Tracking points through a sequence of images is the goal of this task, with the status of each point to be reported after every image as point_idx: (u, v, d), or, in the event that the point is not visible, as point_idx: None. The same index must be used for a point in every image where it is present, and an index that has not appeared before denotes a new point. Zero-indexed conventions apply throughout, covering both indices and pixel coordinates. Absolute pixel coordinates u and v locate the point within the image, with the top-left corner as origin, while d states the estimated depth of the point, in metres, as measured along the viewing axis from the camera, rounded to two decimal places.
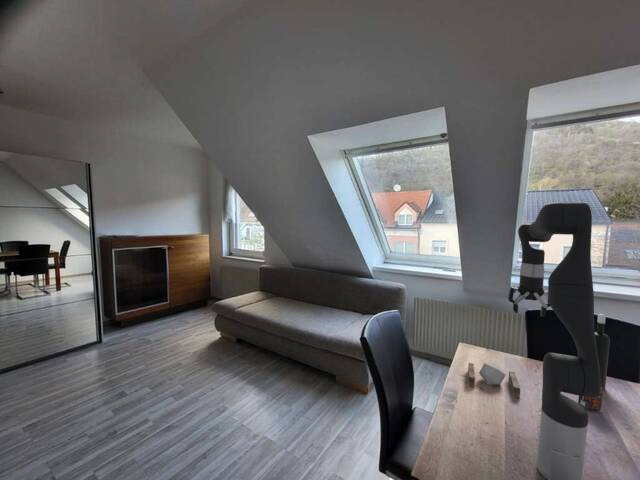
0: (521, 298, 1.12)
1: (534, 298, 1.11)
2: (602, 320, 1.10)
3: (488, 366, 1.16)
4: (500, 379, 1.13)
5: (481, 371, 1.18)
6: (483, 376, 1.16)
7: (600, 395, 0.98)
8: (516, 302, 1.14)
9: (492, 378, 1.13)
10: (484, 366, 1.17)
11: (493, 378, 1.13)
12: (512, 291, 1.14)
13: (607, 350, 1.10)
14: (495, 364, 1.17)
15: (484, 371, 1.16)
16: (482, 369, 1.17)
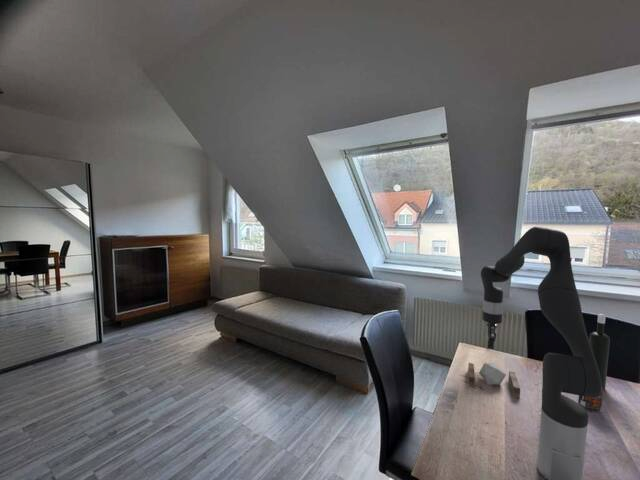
0: None
1: None
2: (602, 320, 1.10)
3: (488, 366, 1.16)
4: (500, 379, 1.13)
5: (481, 371, 1.18)
6: (483, 376, 1.16)
7: (600, 395, 0.98)
8: None
9: (492, 378, 1.13)
10: (484, 366, 1.17)
11: (493, 378, 1.13)
12: (495, 335, 1.21)
13: (607, 350, 1.10)
14: (495, 364, 1.17)
15: (484, 371, 1.16)
16: (482, 369, 1.17)
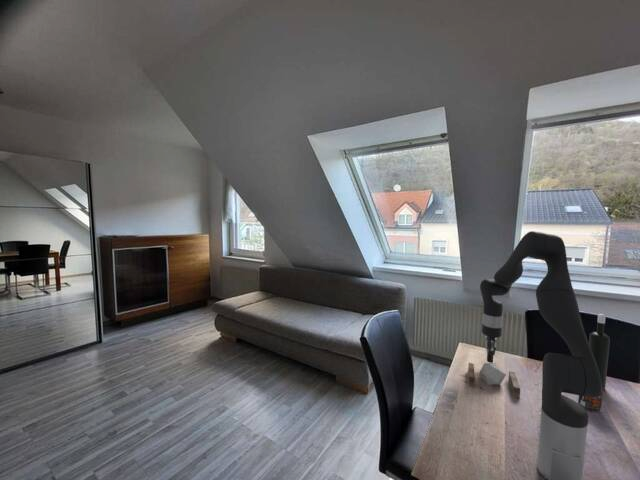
0: None
1: None
2: (602, 320, 1.10)
3: (488, 366, 1.16)
4: (500, 379, 1.13)
5: (481, 371, 1.18)
6: (483, 376, 1.16)
7: (600, 395, 0.98)
8: None
9: (492, 378, 1.13)
10: (484, 366, 1.17)
11: (493, 378, 1.13)
12: None
13: (607, 350, 1.10)
14: (495, 364, 1.17)
15: (484, 371, 1.16)
16: (482, 369, 1.17)
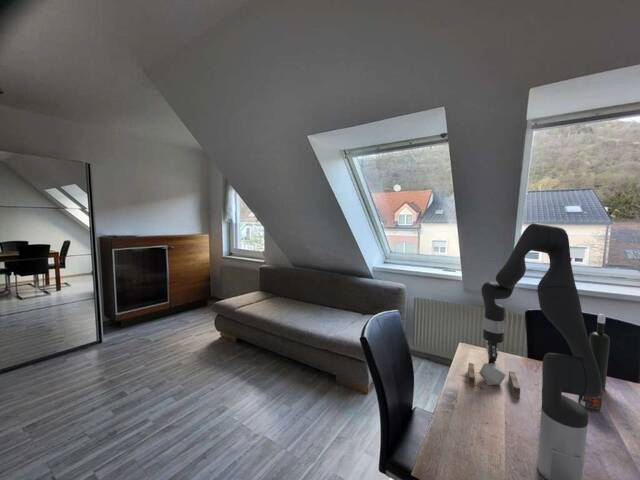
0: None
1: None
2: (602, 320, 1.10)
3: (489, 366, 1.15)
4: (500, 379, 1.12)
5: (481, 371, 1.17)
6: (483, 376, 1.16)
7: (600, 395, 0.98)
8: None
9: (492, 379, 1.13)
10: (484, 366, 1.17)
11: (493, 379, 1.13)
12: (496, 355, 1.15)
13: (607, 350, 1.10)
14: (495, 364, 1.16)
15: (484, 371, 1.15)
16: (482, 369, 1.17)
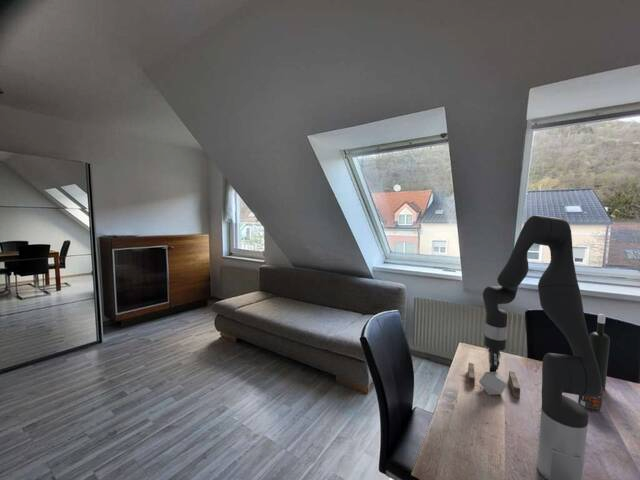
0: (498, 361, 1.12)
1: None
2: (602, 320, 1.10)
3: (490, 376, 1.09)
4: (502, 389, 1.06)
5: (482, 380, 1.11)
6: (484, 386, 1.10)
7: (600, 395, 0.98)
8: None
9: (494, 389, 1.07)
10: (485, 375, 1.10)
11: (494, 389, 1.06)
12: (498, 363, 1.09)
13: (607, 350, 1.10)
14: (496, 373, 1.10)
15: (485, 380, 1.09)
16: (483, 378, 1.11)
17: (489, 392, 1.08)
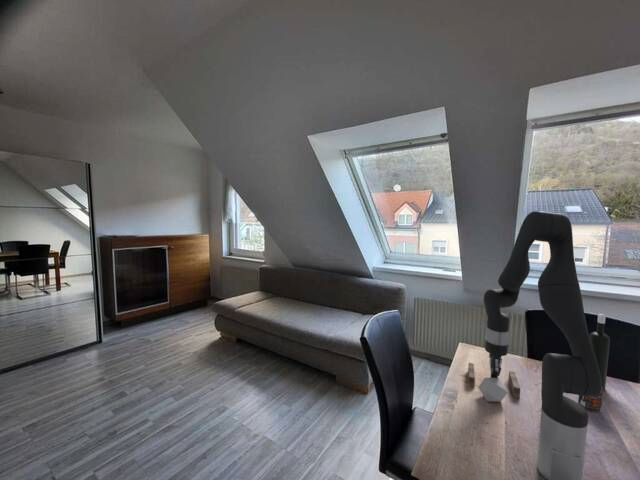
0: (500, 367, 1.08)
1: None
2: (602, 320, 1.10)
3: (489, 382, 1.05)
4: (501, 397, 1.02)
5: (481, 386, 1.07)
6: (482, 392, 1.06)
7: (600, 395, 0.98)
8: None
9: (492, 395, 1.03)
10: (484, 381, 1.06)
11: (493, 396, 1.03)
12: None
13: (607, 350, 1.10)
14: (497, 379, 1.06)
15: (484, 386, 1.05)
16: (482, 384, 1.07)
17: (488, 398, 1.05)
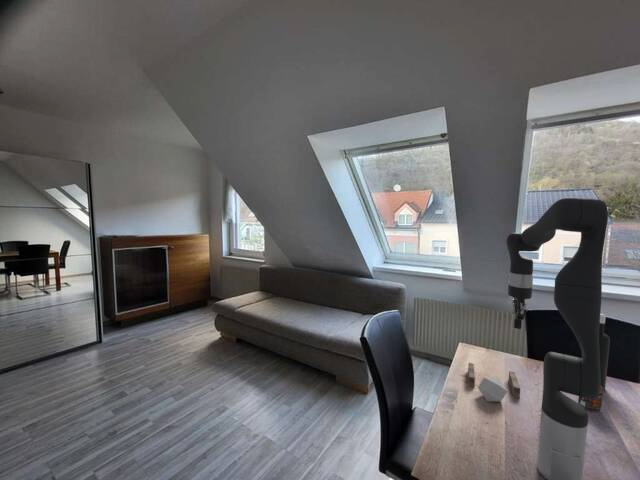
0: None
1: None
2: (602, 320, 1.10)
3: (488, 381, 1.06)
4: (500, 396, 1.02)
5: (480, 386, 1.08)
6: (482, 391, 1.06)
7: (600, 395, 0.98)
8: None
9: (492, 394, 1.03)
10: (483, 381, 1.07)
11: (492, 395, 1.03)
12: None
13: (607, 350, 1.10)
14: (496, 379, 1.06)
15: (483, 386, 1.06)
16: (481, 384, 1.07)
17: (487, 398, 1.05)
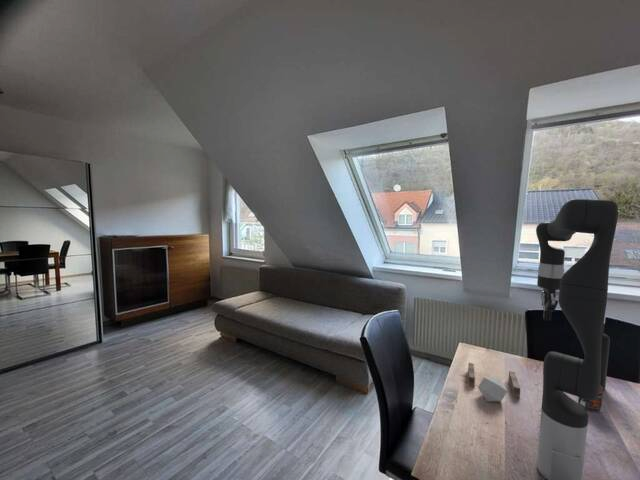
0: None
1: None
2: None
3: (488, 381, 1.06)
4: (501, 396, 1.02)
5: (480, 386, 1.08)
6: (482, 391, 1.06)
7: (600, 395, 0.98)
8: None
9: (492, 394, 1.03)
10: (483, 381, 1.07)
11: (492, 395, 1.03)
12: None
13: (607, 350, 1.10)
14: (496, 379, 1.06)
15: (483, 386, 1.06)
16: (481, 384, 1.07)
17: (487, 398, 1.05)
